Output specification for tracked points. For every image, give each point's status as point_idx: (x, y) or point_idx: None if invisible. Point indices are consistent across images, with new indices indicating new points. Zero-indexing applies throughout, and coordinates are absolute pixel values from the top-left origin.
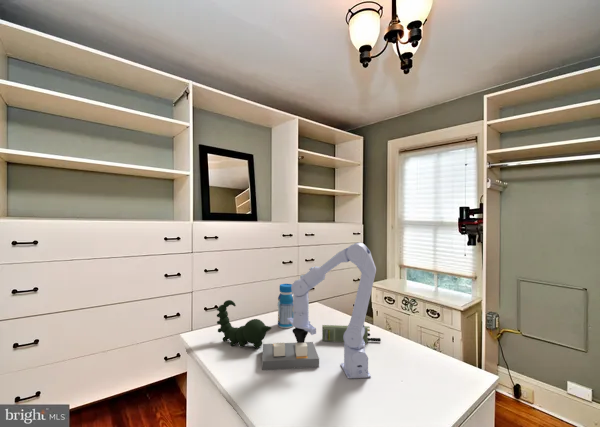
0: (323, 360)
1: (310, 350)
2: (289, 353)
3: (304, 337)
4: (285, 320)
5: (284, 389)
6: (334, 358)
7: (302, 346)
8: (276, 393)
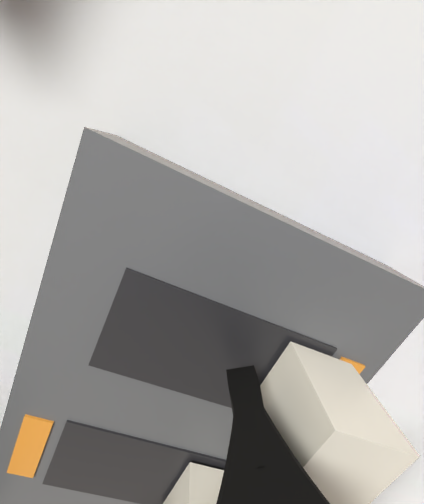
0: (341, 177)
1: (272, 281)
2: (216, 433)
3: (302, 493)
4: None
5: (402, 473)
6: (385, 54)
7: (380, 491)
8: (398, 497)
